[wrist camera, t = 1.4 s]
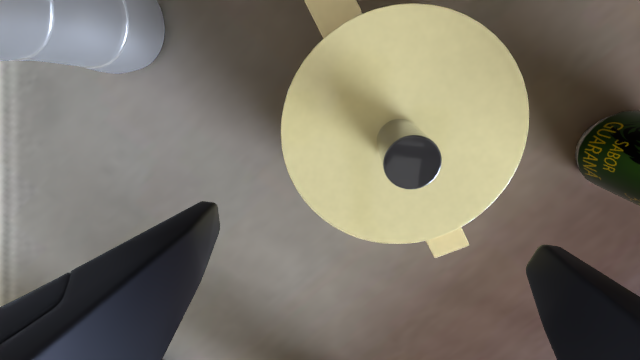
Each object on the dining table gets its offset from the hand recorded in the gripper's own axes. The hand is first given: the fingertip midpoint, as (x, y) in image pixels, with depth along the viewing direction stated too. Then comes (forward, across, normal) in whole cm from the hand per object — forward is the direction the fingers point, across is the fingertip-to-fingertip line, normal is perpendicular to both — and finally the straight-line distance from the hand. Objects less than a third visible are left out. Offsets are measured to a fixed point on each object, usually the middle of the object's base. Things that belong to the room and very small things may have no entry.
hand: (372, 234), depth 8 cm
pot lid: (+10, -2, +1) cm, 10 cm away
